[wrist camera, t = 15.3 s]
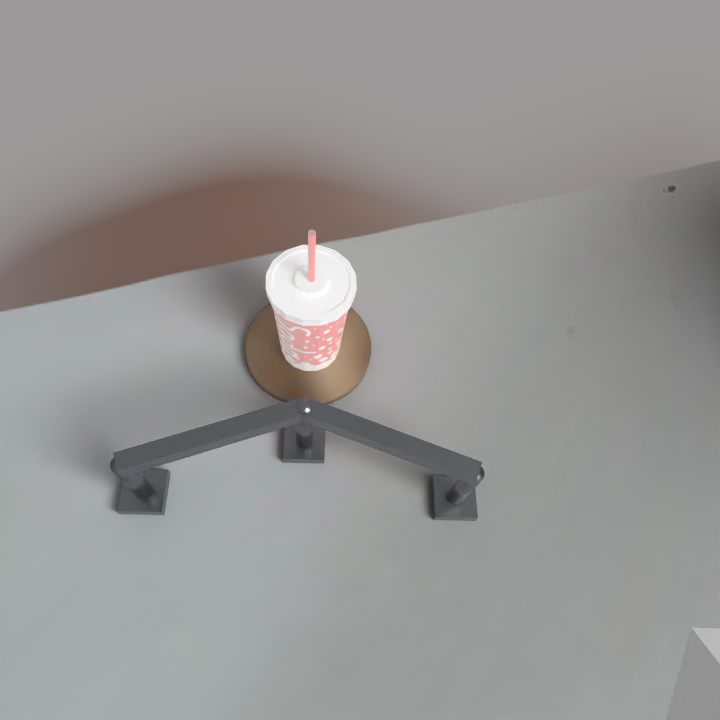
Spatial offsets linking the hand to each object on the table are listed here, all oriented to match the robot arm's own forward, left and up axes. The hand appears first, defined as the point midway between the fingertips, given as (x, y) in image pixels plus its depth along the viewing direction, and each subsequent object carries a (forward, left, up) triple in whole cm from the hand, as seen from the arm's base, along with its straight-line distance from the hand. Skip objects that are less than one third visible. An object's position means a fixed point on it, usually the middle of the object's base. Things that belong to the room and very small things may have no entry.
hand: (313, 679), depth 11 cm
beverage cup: (+1, -23, -31) cm, 39 cm away
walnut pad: (+1, -24, -32) cm, 39 cm away
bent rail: (+1, -14, -32) cm, 34 cm away
